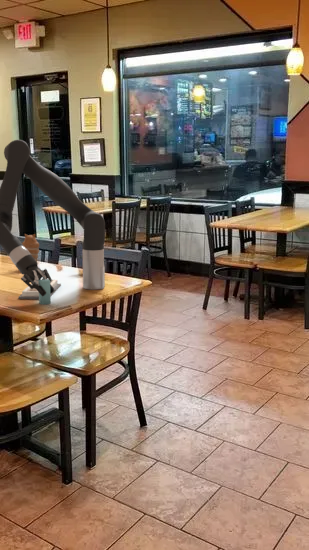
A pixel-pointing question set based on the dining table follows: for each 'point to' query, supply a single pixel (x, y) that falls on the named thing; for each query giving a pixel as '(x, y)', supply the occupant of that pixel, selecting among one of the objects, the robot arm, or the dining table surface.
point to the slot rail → (34, 294)
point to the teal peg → (47, 297)
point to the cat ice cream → (31, 245)
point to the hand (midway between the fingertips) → (48, 293)
